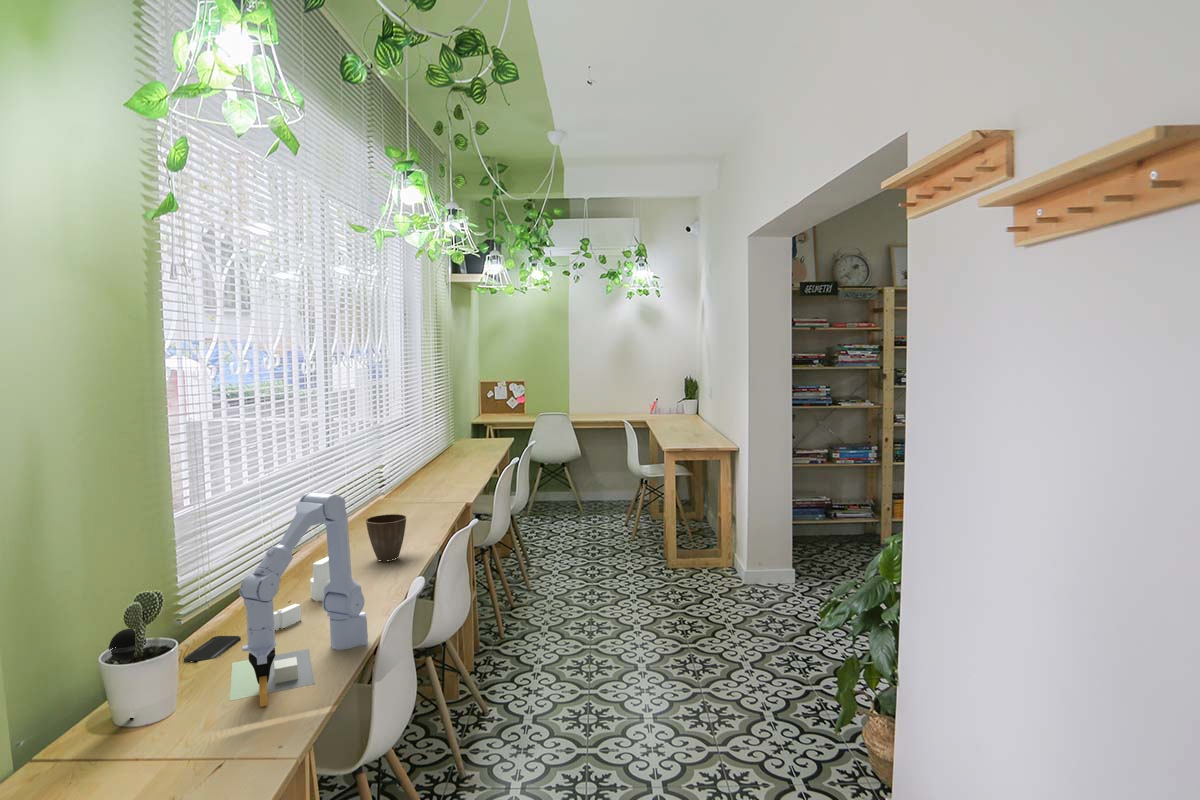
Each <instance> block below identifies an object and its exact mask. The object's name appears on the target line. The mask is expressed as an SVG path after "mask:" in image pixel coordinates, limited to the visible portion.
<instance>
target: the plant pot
mask: <svg viewBox="0 0 1200 800" xmlns="http://www.w3.org/2000/svg"><path fill="white" fill-rule="evenodd" d="M365 523H366V529H367V534H368V537H369V540H370V544H371V548H372V550H373V552H374V554H375V555H374V556H376V559H377V561H378V560H381V561H387V560H392V559H395V558H397V557H398V558H399V556H400V552H401V550H402V546H403V542H404V537H405V533H406V532H405V531H406V523H407V516H406V515H404V514H397V513H396V514H394V513H393V514H391V513H389V514H388V513H387V514H381V515H375V516H370V517H369V518H366V520H365Z"/></svg>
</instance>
